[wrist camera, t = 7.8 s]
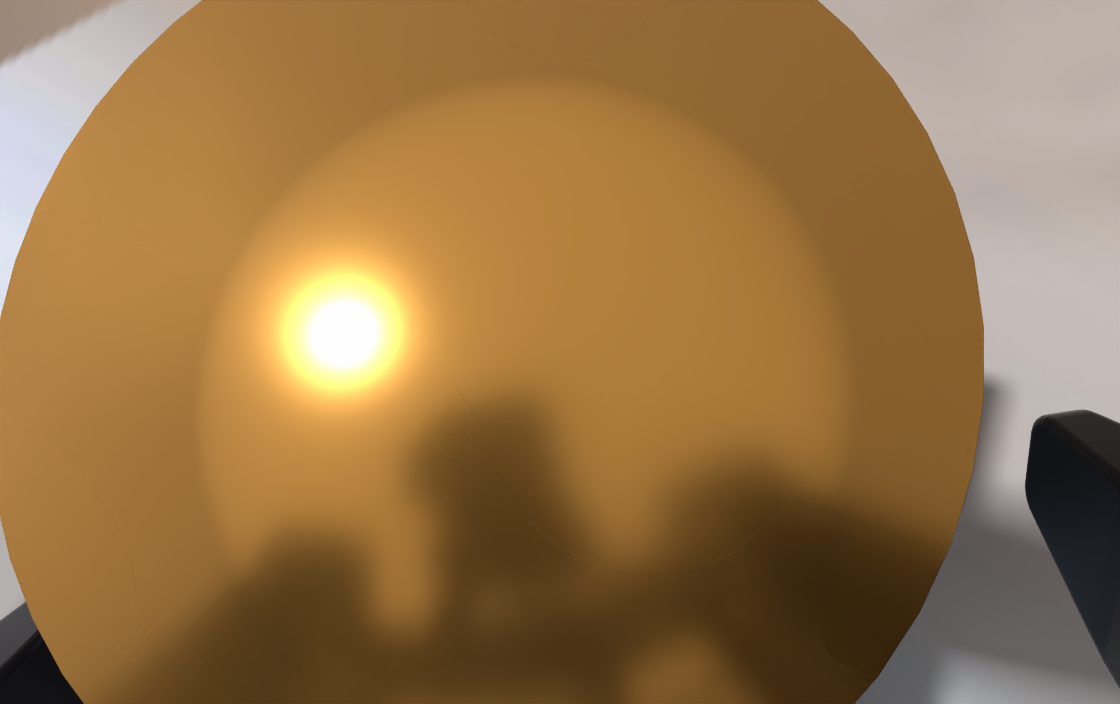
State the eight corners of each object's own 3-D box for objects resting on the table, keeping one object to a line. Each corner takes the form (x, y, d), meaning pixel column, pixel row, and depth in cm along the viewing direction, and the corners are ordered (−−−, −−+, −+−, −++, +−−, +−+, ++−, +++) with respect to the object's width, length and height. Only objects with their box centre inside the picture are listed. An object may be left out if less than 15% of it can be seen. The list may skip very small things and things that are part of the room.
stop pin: (758, 421, 18) (1080, -24, 4) (702, 629, 17) (836, 1104, 3) (560, 364, 18) (204, -166, 4) (498, 559, 18) (-170, 658, 4)
